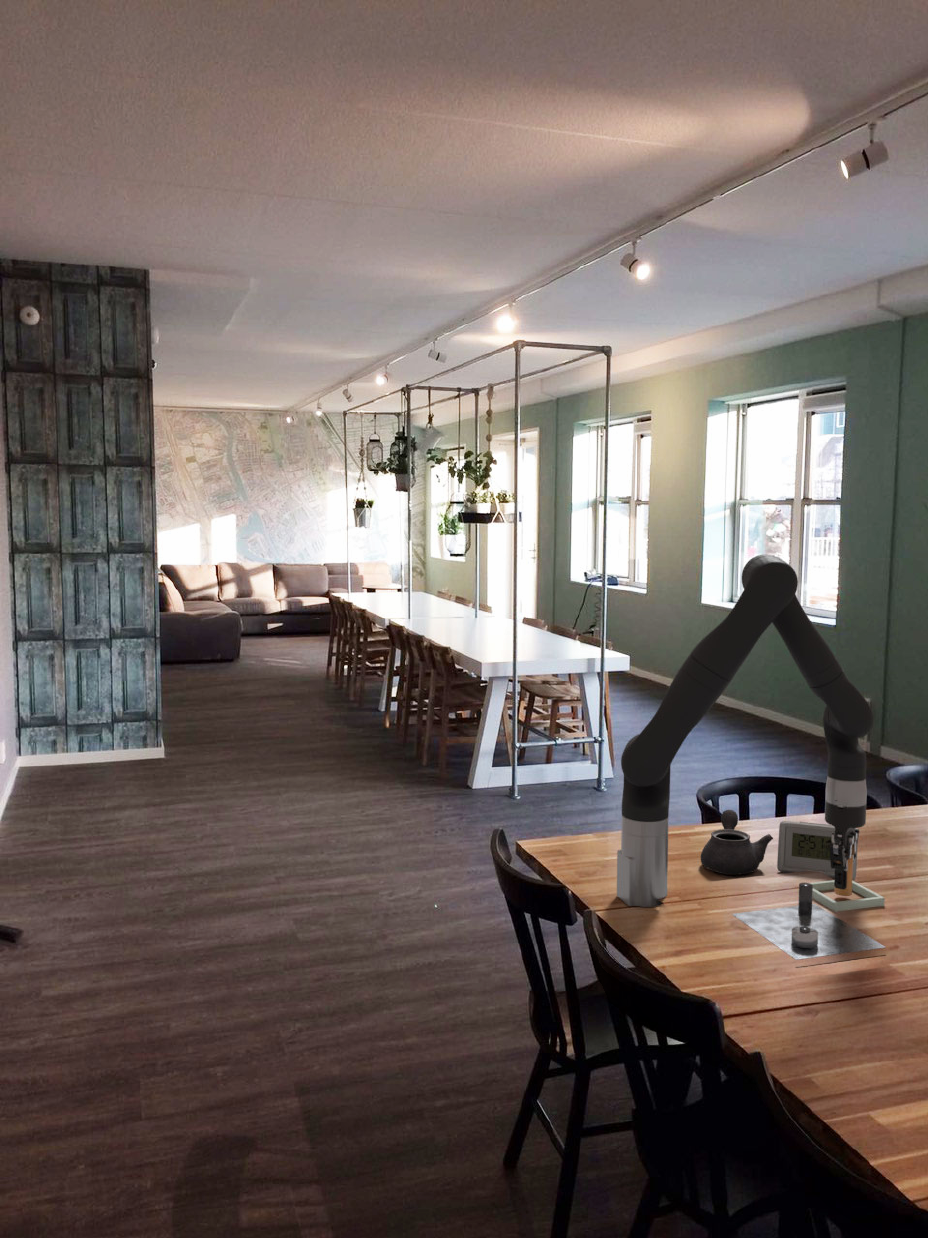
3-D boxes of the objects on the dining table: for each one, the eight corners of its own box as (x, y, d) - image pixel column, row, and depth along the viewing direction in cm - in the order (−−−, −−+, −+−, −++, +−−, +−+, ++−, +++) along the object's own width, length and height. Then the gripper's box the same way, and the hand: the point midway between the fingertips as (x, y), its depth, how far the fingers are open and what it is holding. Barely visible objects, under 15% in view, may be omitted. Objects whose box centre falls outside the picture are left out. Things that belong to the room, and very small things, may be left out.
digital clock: (773, 873, 222) (774, 825, 221) (785, 861, 230) (786, 814, 229) (851, 887, 214) (853, 837, 212) (861, 875, 221) (863, 826, 220)
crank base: (795, 968, 176) (796, 959, 176) (731, 921, 196) (731, 913, 196) (885, 955, 181) (886, 947, 181) (814, 911, 201) (814, 903, 201)
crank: (817, 949, 179) (819, 910, 178) (791, 946, 180) (792, 907, 180) (817, 914, 195) (818, 878, 194) (792, 911, 196) (793, 876, 195)
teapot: (779, 879, 219) (781, 833, 218) (706, 878, 219) (707, 832, 218) (758, 850, 237) (759, 807, 236) (690, 849, 238) (691, 807, 237)
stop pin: (841, 897, 201) (842, 859, 201) (831, 891, 204) (832, 854, 204) (855, 895, 202) (856, 858, 202) (844, 889, 205) (846, 852, 205)
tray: (834, 919, 197) (835, 903, 197) (801, 898, 208) (801, 884, 207) (884, 912, 200) (884, 897, 200) (848, 892, 210) (848, 878, 210)
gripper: (835, 788, 209) (832, 871, 211) (816, 805, 198) (813, 892, 200) (874, 794, 205) (871, 878, 207) (856, 811, 194) (853, 900, 195)
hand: (842, 885), depth 203 cm, fingers closed on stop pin, 3 cm apart
